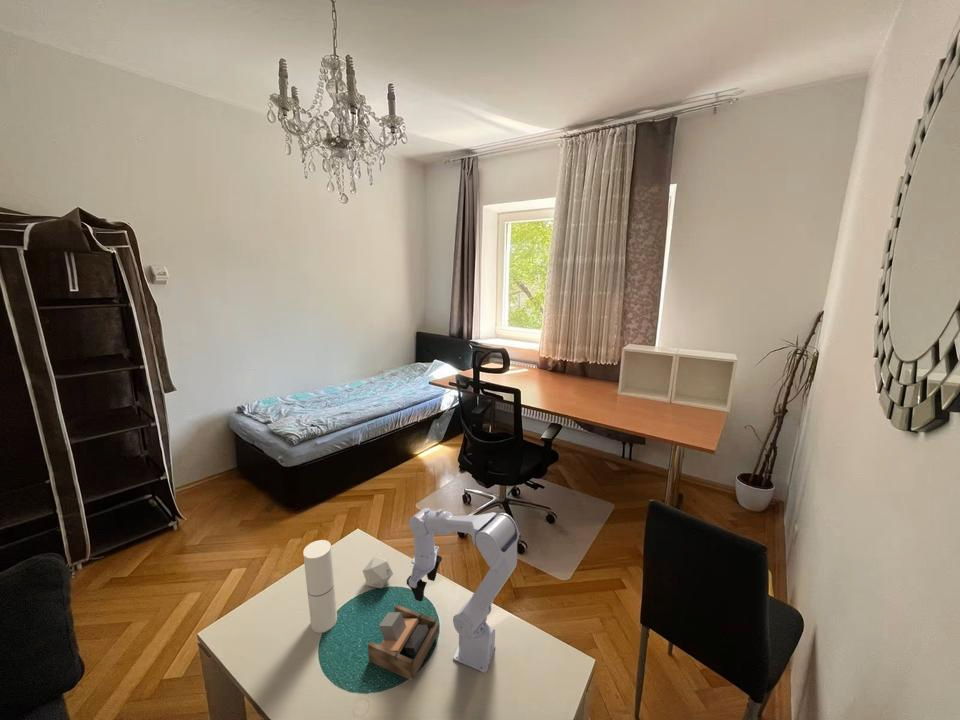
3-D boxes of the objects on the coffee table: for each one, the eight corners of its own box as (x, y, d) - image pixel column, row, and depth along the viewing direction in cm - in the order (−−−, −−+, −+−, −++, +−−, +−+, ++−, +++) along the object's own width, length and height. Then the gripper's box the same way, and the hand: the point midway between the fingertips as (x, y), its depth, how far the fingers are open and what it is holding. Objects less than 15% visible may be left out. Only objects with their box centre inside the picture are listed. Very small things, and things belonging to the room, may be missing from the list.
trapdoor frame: (439, 635, 106) (438, 619, 105) (414, 682, 94) (413, 664, 93) (397, 619, 111) (396, 603, 110) (368, 661, 99) (367, 644, 98)
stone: (406, 626, 104) (400, 612, 104) (397, 640, 100) (391, 626, 100) (393, 626, 106) (388, 612, 106) (384, 640, 102) (378, 625, 101)
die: (368, 599, 119) (386, 577, 117) (352, 576, 122) (370, 554, 121) (385, 589, 126) (402, 568, 125) (369, 567, 130) (386, 546, 129)
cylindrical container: (305, 629, 108) (297, 555, 102) (321, 608, 114) (314, 538, 109) (327, 635, 106) (320, 560, 100) (342, 613, 113) (336, 542, 107)
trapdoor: (431, 626, 104) (428, 618, 104) (413, 660, 95) (409, 651, 95) (401, 625, 109) (398, 618, 109) (380, 657, 100) (377, 649, 100)
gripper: (424, 530, 114) (425, 567, 117) (398, 563, 101) (400, 605, 104) (445, 535, 112) (445, 574, 115) (421, 570, 99) (422, 613, 102)
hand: (425, 589), depth 109 cm, fingers open, 7 cm apart
